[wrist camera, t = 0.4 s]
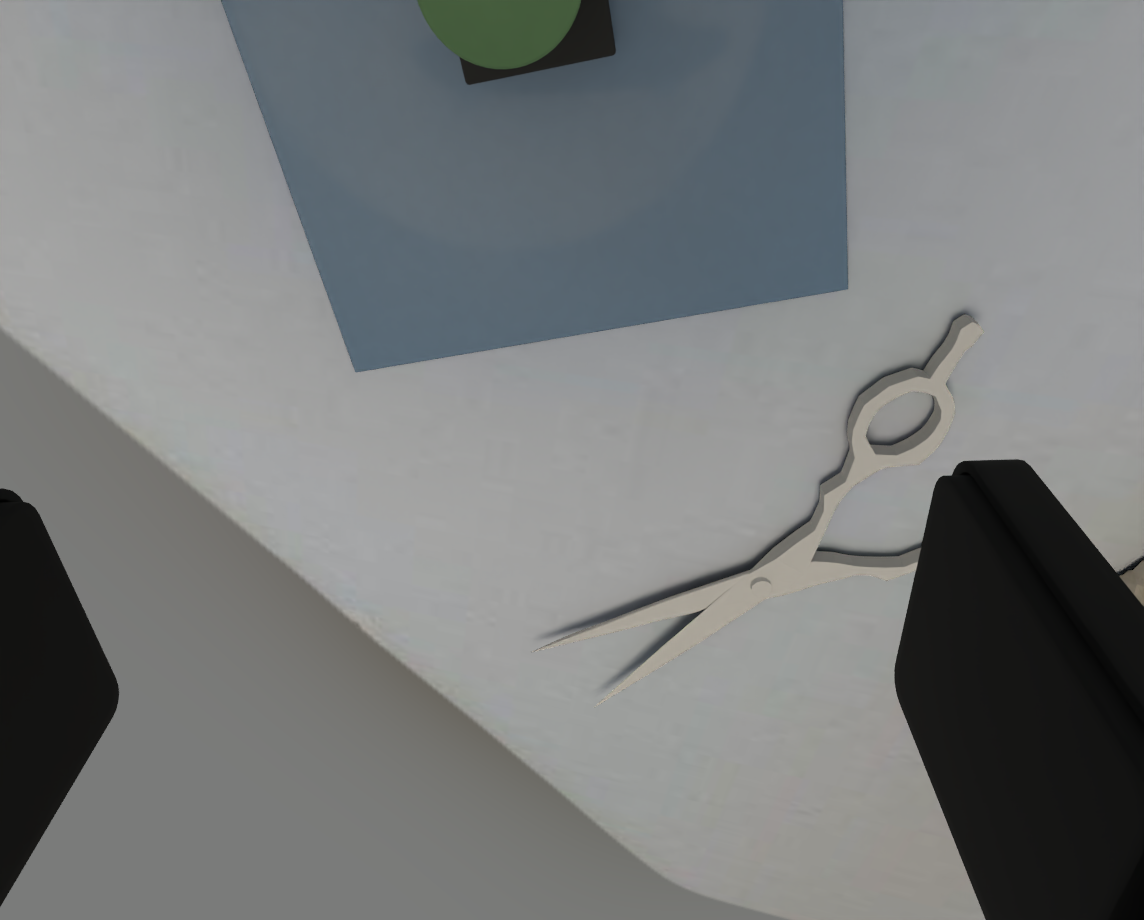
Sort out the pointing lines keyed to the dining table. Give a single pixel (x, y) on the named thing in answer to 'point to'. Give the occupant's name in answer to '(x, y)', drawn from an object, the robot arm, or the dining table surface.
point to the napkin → (555, 169)
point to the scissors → (796, 554)
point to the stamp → (520, 34)
